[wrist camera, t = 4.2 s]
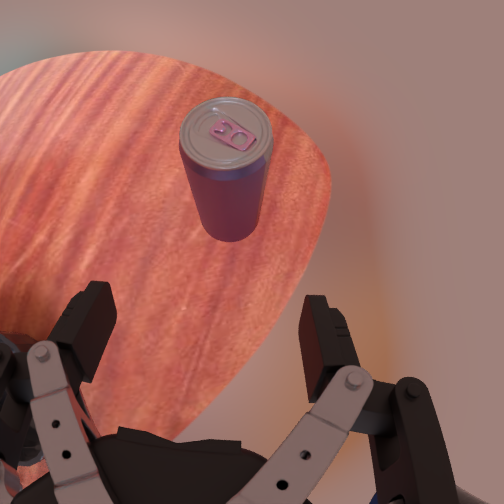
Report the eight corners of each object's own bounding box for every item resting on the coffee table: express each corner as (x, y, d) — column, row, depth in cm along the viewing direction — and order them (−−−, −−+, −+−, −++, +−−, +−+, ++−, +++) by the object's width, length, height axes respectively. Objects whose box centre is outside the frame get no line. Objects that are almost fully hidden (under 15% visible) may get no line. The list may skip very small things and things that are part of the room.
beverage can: (237, 255, 31) (237, 190, 16) (189, 223, 31) (156, 141, 17) (269, 209, 32) (293, 121, 18) (223, 180, 33) (216, 82, 18)
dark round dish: (93, 450, 25) (71, 467, 19) (9, 451, 23) (-15, 461, 18) (53, 321, 28) (24, 318, 23) (-23, 342, 26) (-50, 341, 21)
